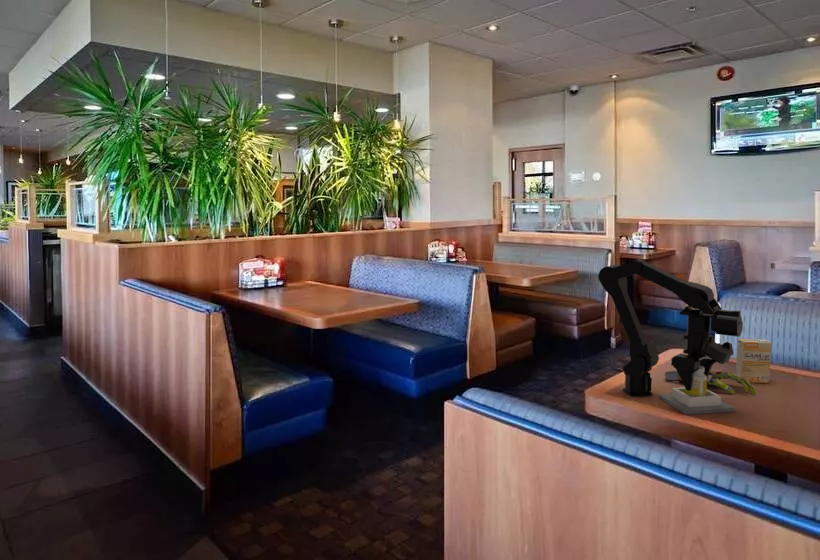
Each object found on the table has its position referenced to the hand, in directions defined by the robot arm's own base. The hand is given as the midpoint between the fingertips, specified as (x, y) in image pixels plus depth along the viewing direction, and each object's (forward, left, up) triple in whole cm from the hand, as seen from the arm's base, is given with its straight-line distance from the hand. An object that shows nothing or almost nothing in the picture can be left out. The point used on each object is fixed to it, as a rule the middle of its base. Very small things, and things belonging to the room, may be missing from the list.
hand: (696, 386), depth 166 cm
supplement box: (+29, +17, -5) cm, 34 cm away
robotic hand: (+13, +15, -6) cm, 20 cm away
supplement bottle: (0, 0, -4) cm, 4 cm away
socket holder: (0, 0, -5) cm, 5 cm away
